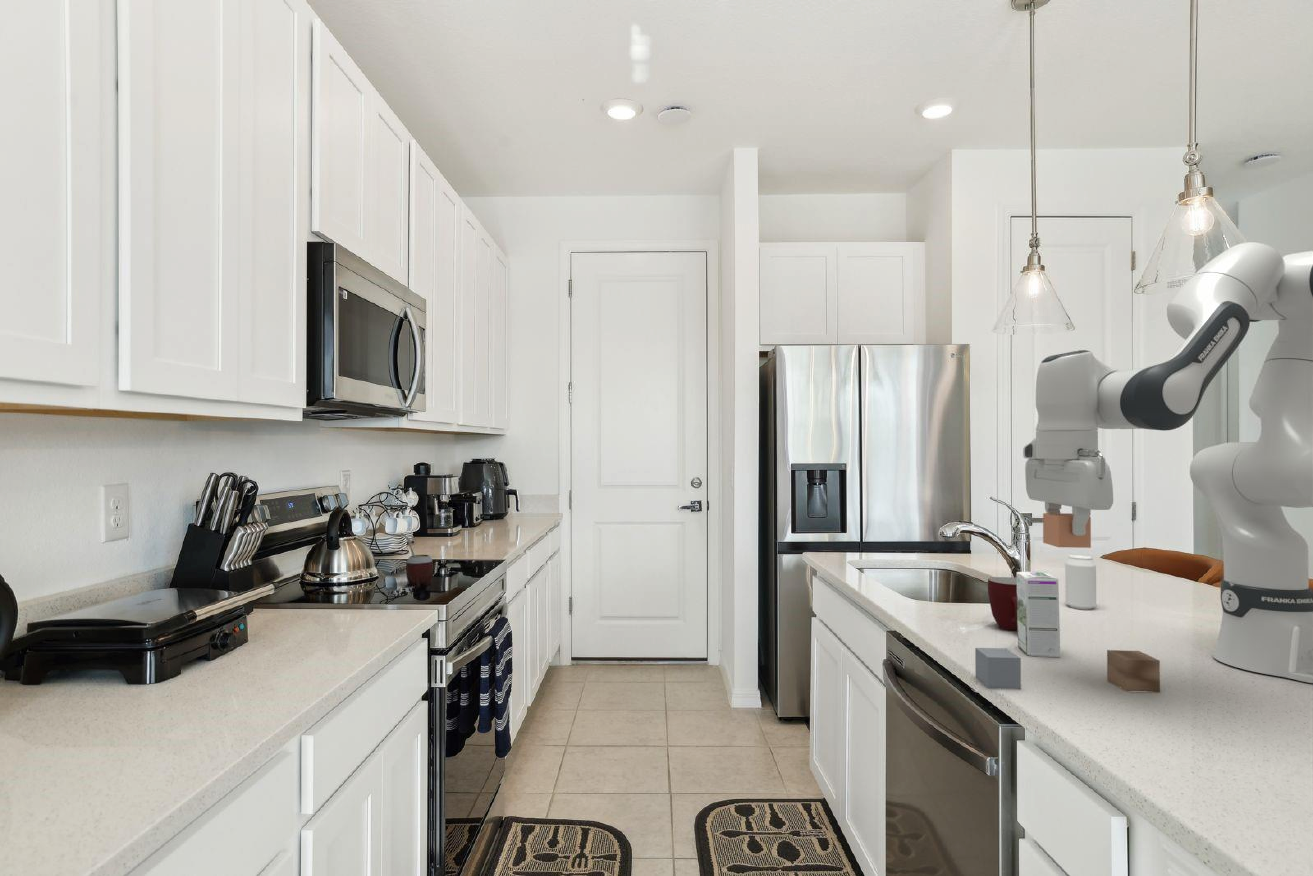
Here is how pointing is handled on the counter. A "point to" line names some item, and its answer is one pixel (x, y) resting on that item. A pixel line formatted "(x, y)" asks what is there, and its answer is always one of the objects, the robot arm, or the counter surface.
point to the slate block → (998, 668)
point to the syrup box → (1038, 614)
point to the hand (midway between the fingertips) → (1066, 532)
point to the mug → (1004, 601)
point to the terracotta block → (1064, 531)
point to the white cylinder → (1080, 582)
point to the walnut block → (1133, 670)
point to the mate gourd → (418, 568)
